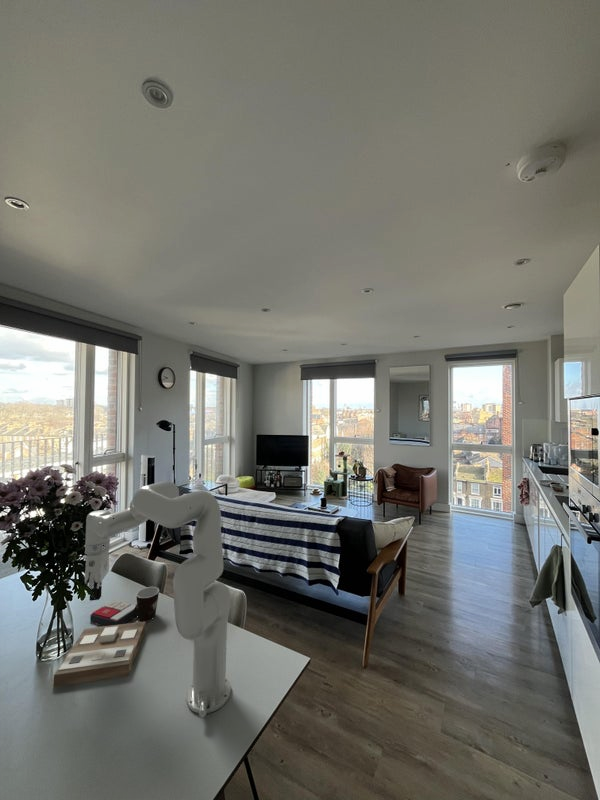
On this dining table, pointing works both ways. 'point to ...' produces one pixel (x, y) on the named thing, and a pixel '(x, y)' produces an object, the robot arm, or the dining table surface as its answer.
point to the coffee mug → (146, 603)
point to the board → (100, 656)
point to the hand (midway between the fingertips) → (95, 598)
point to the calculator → (114, 614)
